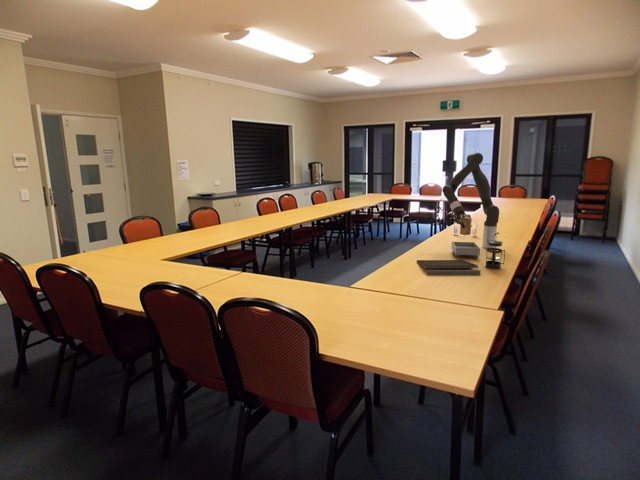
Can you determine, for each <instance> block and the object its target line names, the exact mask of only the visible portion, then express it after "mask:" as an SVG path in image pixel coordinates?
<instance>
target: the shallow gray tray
mask: <svg viewBox="0 0 640 480" xmlns="http://www.w3.org/2000/svg"><path fill="white" fill-rule="evenodd" d="M451 251H452V253H453V254H454V255H455V258H456V259H460V258H461V256H472V257H473V259H475V260H477V259H478V258H479V256H481V255H480V254H481V247H479V245H478V244H477V243H476V242H474V241H473V242H472V241H451Z"/></svg>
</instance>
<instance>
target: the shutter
mask: <svg viewBox="0 0 640 480" xmlns="http://www.w3.org/2000/svg"><path fill="white" fill-rule="evenodd" d="M416 263H417V264H418V265H419V266H422V267H423V268H425V269H426V274H427V275H428V276H481V270H479V269H478V268H479V265H478V264H475V263H472V262H470V261H468V260H467V261H466V260H464V259H436V260H435V259H429V260H428V259H423V260H422V259H417V260H416Z"/></svg>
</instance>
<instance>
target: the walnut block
mask: <svg viewBox="0 0 640 480" xmlns="http://www.w3.org/2000/svg"><path fill="white" fill-rule="evenodd" d="M461 219H462V222H463V224H464V226H465V228H464V229H463V228H462V227H461V225H460V224H459V225H460V227H459V234H460V235H463V236H468V235H469V236H470V235H471V234H472V232H471V230H472V227H471V225H472V221H471V220H472V219H471V218H469V217H461Z"/></svg>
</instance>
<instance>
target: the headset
mask: <svg viewBox="0 0 640 480" xmlns="http://www.w3.org/2000/svg"><path fill="white" fill-rule="evenodd" d="M470 217H471V220H472V219H473V220H474V222H475V225H476V226H473V227H472V232H471V234H472V235H473V236H474V235H475V237H476V236H477V233H478V232H477V231H478V222H477V219H476V218H475V217H473V216H471V215H470ZM456 224H457V223H456V222H455V221H454V223H453V235H454V236H455V235H457V234H458V233H459V227H458V224H457V225H456Z"/></svg>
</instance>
